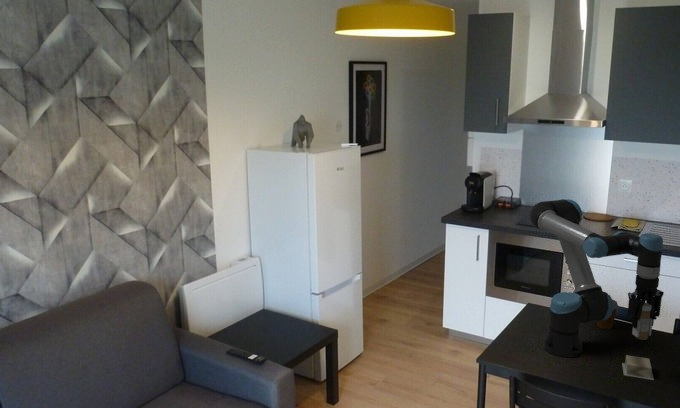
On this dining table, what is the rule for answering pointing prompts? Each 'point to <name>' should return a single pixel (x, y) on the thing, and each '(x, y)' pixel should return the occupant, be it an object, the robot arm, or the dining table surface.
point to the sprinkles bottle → (644, 321)
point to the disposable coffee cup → (608, 322)
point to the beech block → (638, 366)
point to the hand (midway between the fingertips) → (641, 334)
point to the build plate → (633, 375)
